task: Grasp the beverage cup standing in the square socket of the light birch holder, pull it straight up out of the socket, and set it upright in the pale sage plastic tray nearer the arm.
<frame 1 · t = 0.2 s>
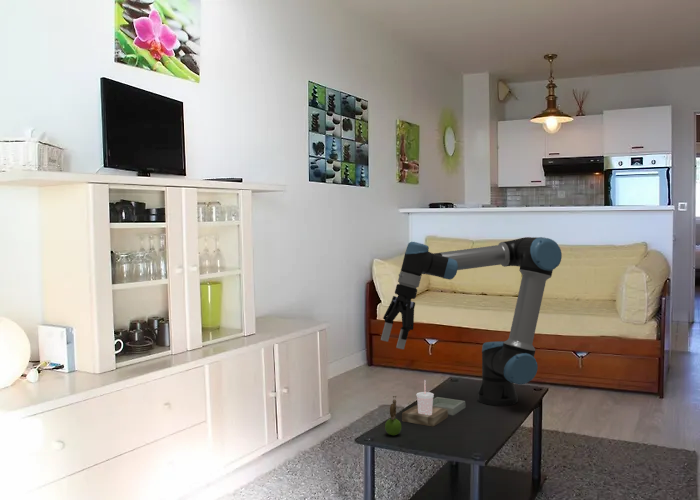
hand: (391, 344, 223), 27 cm above the table, tool tilted 15°, fingers open, 13 cm apart
tray: (444, 409, 237), on the table
beverage cup: (425, 419, 225), resting in socket holder
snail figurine: (393, 435, 209), on the table
socket holder: (425, 419, 225), on the table
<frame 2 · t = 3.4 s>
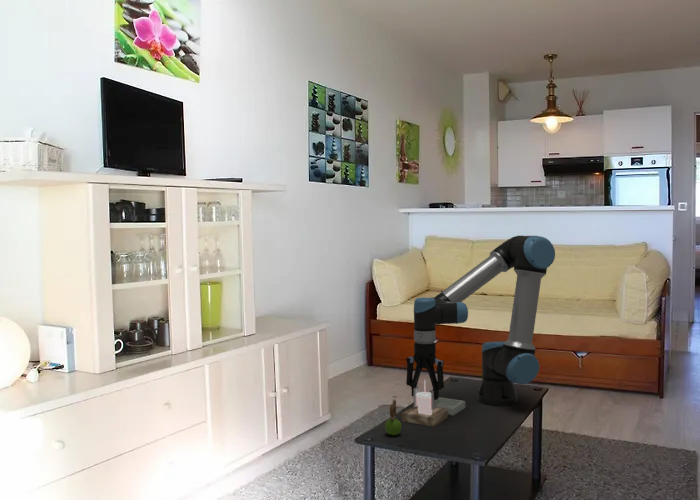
hand: (425, 406, 225), 4 cm above the table, tool pointing down, fingers closed on beverage cup, 6 cm apart
beverage cup: (425, 419, 225), resting in socket holder, touching gripper
everything else where it was.
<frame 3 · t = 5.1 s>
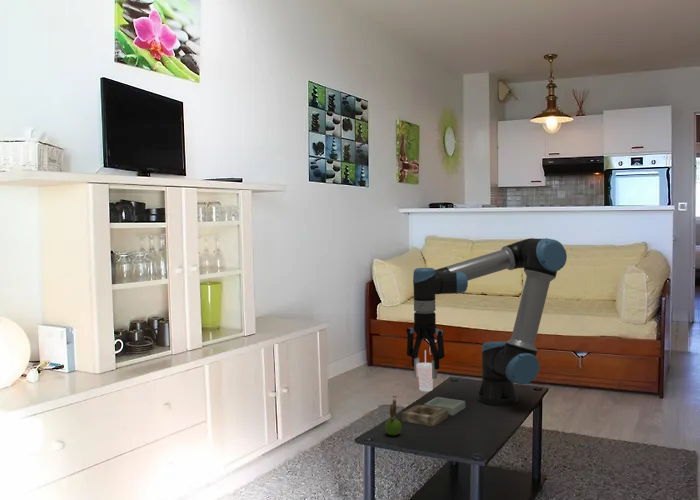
hand: (425, 377, 224), 15 cm above the table, tool pointing down, fingers closed on beverage cup, 6 cm apart
beverage cup: (426, 390, 225), point 10 cm above the table, touching gripper
everything else where it was.
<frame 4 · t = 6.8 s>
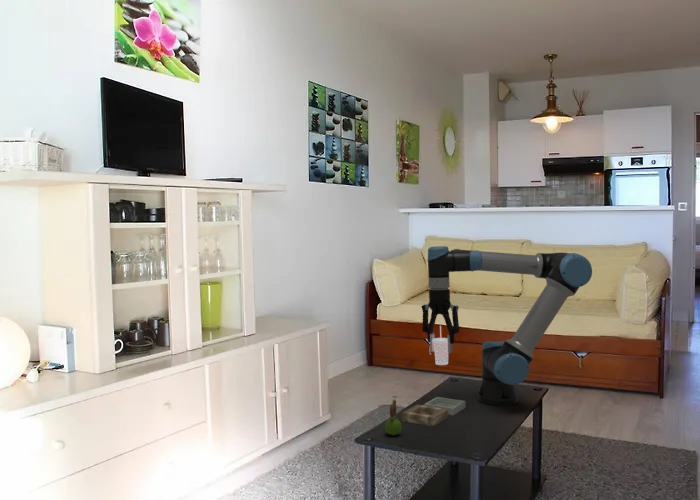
hand: (441, 351, 233), 22 cm above the table, tool pointing down, fingers closed on beverage cup, 6 cm apart
beverage cup: (441, 364, 233), point 18 cm above the table, touching gripper
everything else where it was.
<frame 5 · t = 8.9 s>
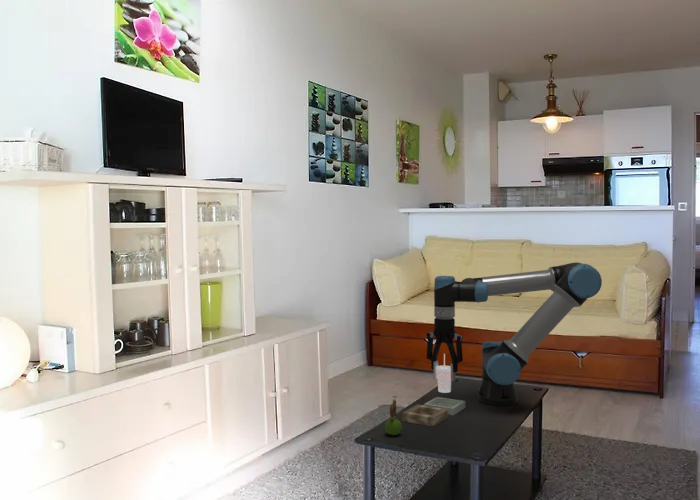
hand: (444, 379, 237), 11 cm above the table, tool pointing down, fingers closed on beverage cup, 6 cm apart
beverage cup: (444, 391, 237), point 7 cm above the table, touching gripper
everything else where it was.
when the fingers open (6 cm above the table, at t = 10.5 s): beverage cup drops 1 cm, resting on tray.
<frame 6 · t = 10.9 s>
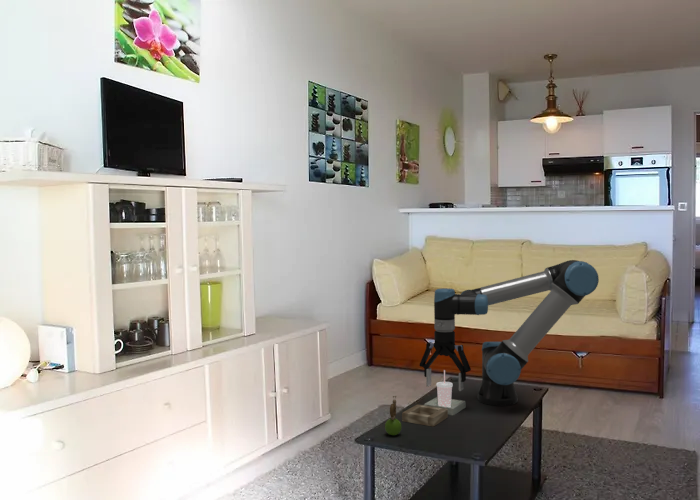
hand: (444, 388, 237), 8 cm above the table, tool pointing down, fingers open, 12 cm apart
beverage cup: (444, 408, 237), resting on tray
everything else where it was.
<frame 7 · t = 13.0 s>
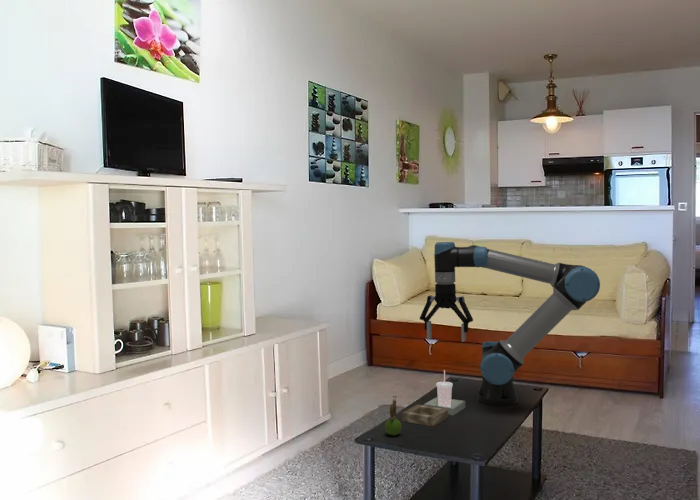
hand: (446, 340, 238), 25 cm above the table, tool pointing down, fingers open, 13 cm apart
nothing on the table moved.
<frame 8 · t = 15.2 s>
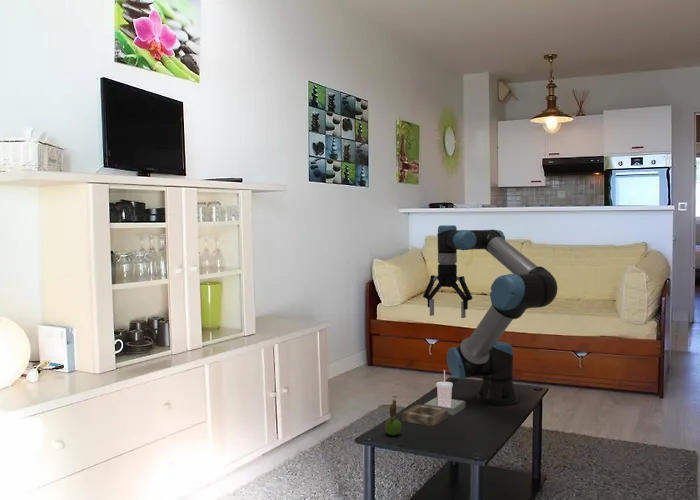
hand: (447, 316, 256), 32 cm above the table, tool pointing down, fingers open, 13 cm apart
nothing on the table moved.
at the end: beverage cup 0.1 cm off-centre on the tray, point 0.4 cm above the tray's base; beverage cup tilted 0°; the gripper is holding nothing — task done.
